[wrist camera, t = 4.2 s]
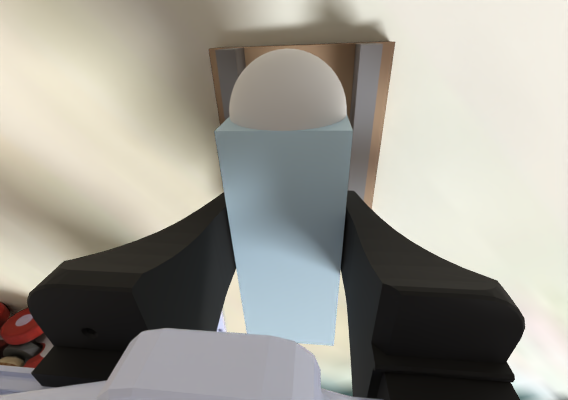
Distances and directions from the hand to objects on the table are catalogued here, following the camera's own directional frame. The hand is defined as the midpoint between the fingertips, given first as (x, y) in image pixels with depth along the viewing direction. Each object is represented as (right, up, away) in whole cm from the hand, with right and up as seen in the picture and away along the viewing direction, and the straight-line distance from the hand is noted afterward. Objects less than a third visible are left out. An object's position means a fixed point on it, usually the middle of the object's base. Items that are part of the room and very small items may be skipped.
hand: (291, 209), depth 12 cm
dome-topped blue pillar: (0, +1, +1) cm, 2 cm away
